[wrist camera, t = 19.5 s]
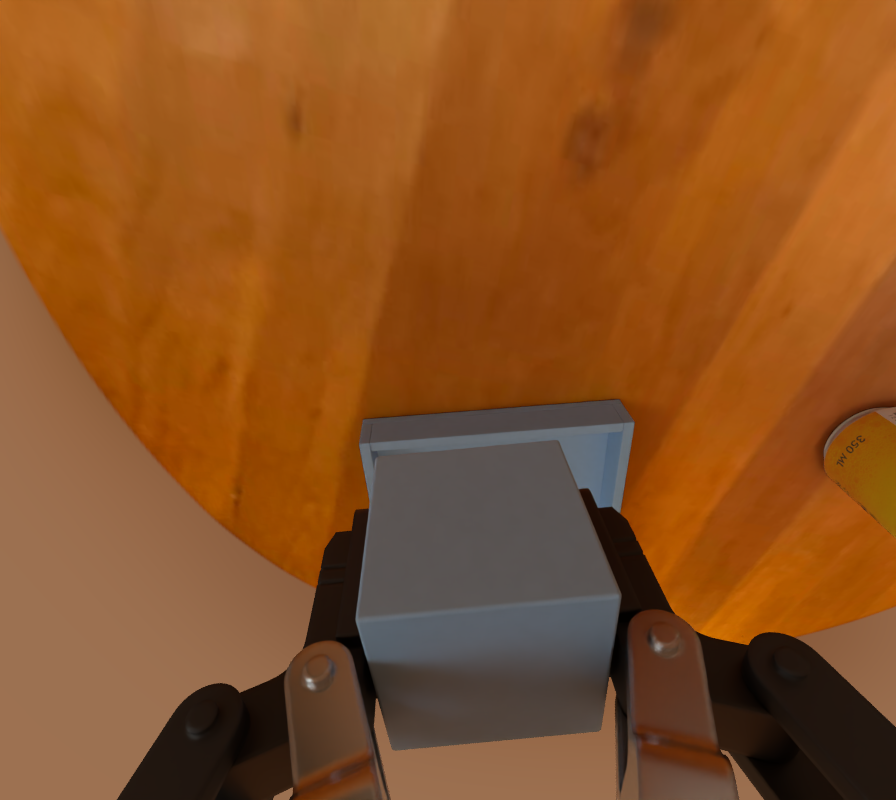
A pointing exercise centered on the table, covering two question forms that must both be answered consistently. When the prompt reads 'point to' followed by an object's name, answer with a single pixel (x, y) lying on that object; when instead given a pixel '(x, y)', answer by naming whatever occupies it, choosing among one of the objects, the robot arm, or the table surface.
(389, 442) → the blue tray
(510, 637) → the blue block
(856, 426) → the beer can
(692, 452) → the table surface
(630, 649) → the robot arm
